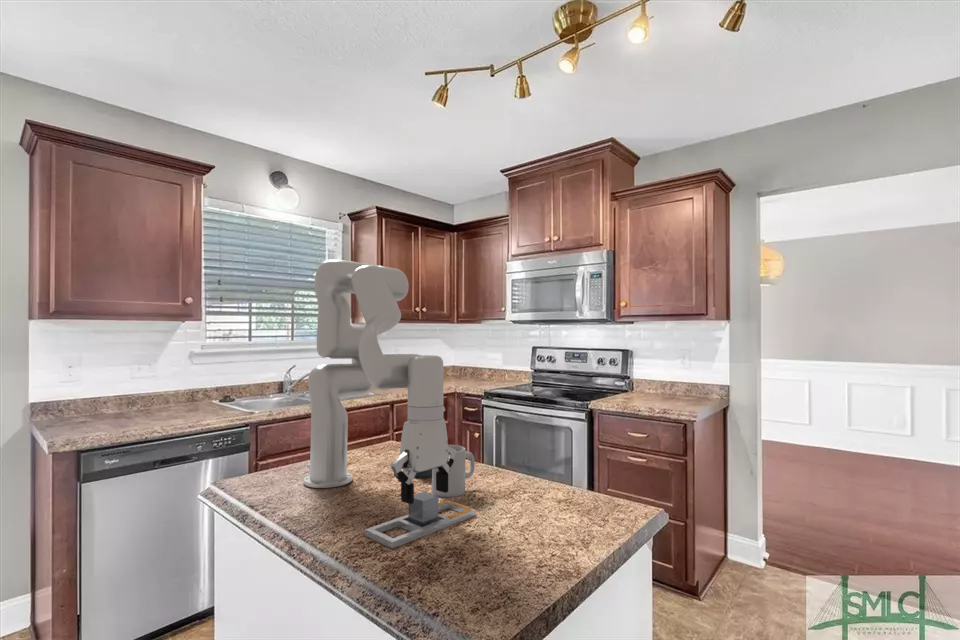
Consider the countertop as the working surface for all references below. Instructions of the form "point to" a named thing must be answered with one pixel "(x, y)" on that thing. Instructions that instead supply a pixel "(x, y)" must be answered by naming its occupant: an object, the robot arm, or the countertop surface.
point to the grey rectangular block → (423, 509)
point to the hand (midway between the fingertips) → (425, 496)
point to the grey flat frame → (416, 530)
